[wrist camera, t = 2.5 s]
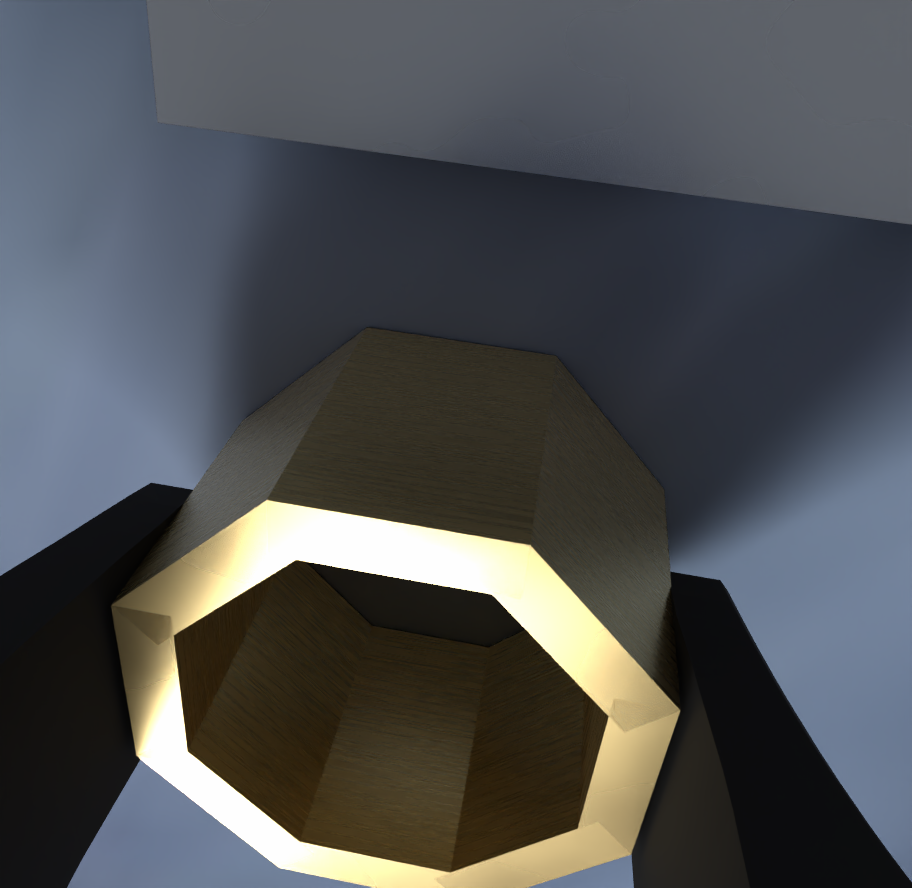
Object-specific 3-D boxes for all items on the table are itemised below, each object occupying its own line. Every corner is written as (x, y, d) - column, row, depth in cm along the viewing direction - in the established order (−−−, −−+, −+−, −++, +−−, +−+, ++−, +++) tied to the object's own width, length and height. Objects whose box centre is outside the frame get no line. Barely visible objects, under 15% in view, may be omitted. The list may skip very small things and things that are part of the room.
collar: (695, 376, 10) (724, 578, 7) (607, 698, 13) (603, 935, 10) (237, 306, 10) (87, 469, 7) (253, 632, 13) (151, 840, 10)
